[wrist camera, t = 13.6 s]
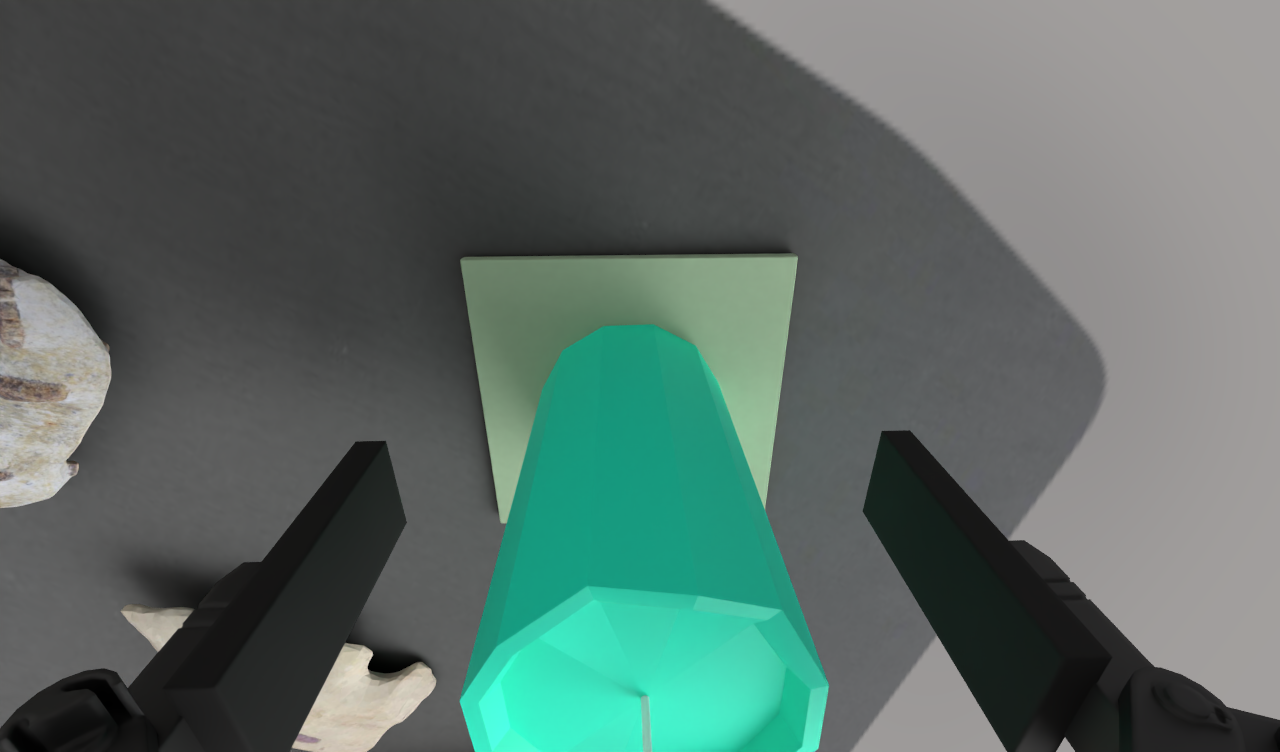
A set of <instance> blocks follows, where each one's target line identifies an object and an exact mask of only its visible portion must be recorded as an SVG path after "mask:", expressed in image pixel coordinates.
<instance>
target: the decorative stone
mask: <svg viewBox="0 0 1280 752" xmlns="http://www.w3.org/2000/svg"><path fill="white" fill-rule="evenodd" d="M193 610H194V609H192V608H187V607H173V608H155V607H148V606H145V605H141V604H129V605H126V606H125V607H124V608H123V609H122V610H121V612H122V614H123V615H124V616H125V617H126V619H127V620H128V621H129V623H131V624H132V625H133V626H135V627H136V629H137V630H138V631H139V632H140V633H141V634H143V635H144V636H145V637H146V638H147V639H148V640H149V641H150V643H151V644H152V645H153V647H154V648H155V649H156V650H157V651H158V652H159V651H160V650H161V648H162V647H163V646H164V645H165V644H166V642H167V641H168V640H169V639H170V638H171V637H172V635H173V634H174V633H175V632H176V631H177V629H178V628H182V626H183V624H182V623H183V622H184V621H185V620H186V619H187V618H188V616H189V615H190V614H191V613H192V612H193ZM372 656H373V652H372V650H370V649H369V648H367V647H366V646H364V645H357V644H348V643H345V644H344V646H343V648H342V650H341V652H340V654H339V656H338V658H337V660H336V662H335V664H334V666H333V668H332V670H331V671H330V673H329V675H328V677H327V679H326V681H325V683H324V685H323V687H322V689H321V691H320V693H319V695H318V697H317V699H316V701H315V703H314V705H313V707H312V709H311V711H310V713H309V715H308V717H307V718H306V720H305V722H304V724H303V726H302V728H301V730H300V732H299V734H298V736H297V738H296V740H295V742H294V744H293V746H292V748H296V749H301V750H307V751H313V752H367V751H368V750H370V749H371V748H372V747H374V746H375V744H376V743H377V742H378V740H379V739H380V738H381V736H382V735H383V734H384V733H385V732H386V731H387V730H388V729H389V728H390V727H391V726H393V725H395V724H397V723H400V722H402V721H403V720H405V719H406V718H407V717H408V716H409V715H410V714H411V713H412V712H413V711H414V710H415V709H416V708H417V706H418V705H419V704H420V702H421V701H422V700H423V699H425V698H426V697H428V696H429V694H430V693H431V692H432V690H433V689H434V687H435V685H436V679H435V677H434V676H433V674H432V672H431V669H430V668H429V667H428V666H427V665H425V664H424V663H423V662H416V663H415V664H413V665H411V666H409V667H407V668H405V669H403V670H401V671H399V672H395V673H386V674H384V673H378V672H373V671H370V670H368V664H369V662H370V660H371V658H372Z"/></svg>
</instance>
